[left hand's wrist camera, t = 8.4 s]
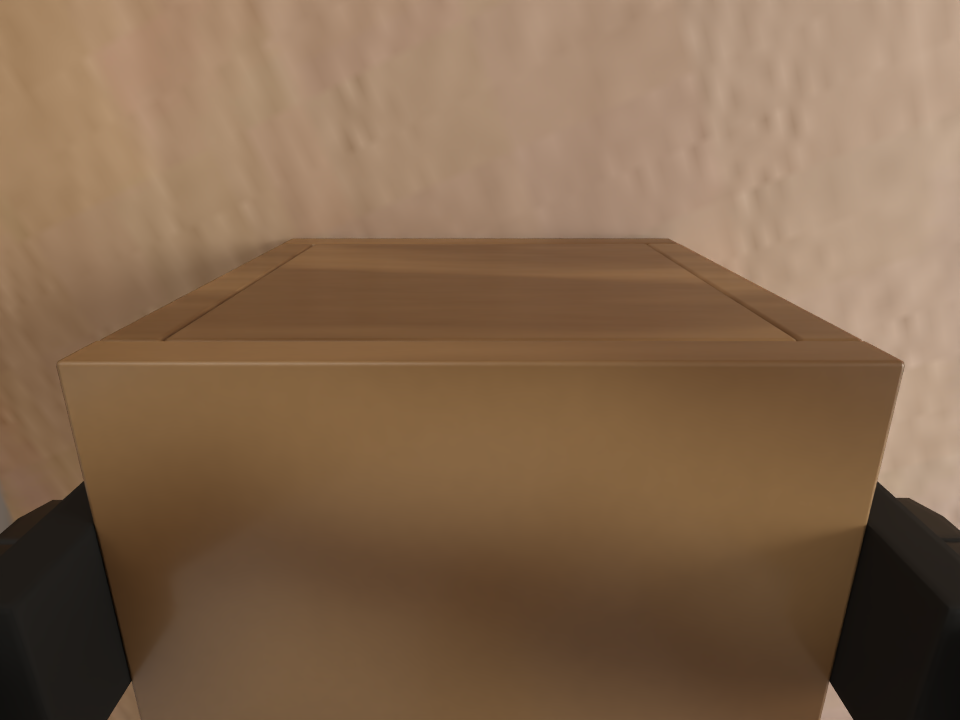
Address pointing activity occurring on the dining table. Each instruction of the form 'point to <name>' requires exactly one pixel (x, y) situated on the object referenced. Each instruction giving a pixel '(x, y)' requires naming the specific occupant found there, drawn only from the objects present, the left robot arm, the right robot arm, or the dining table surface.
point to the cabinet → (480, 485)
